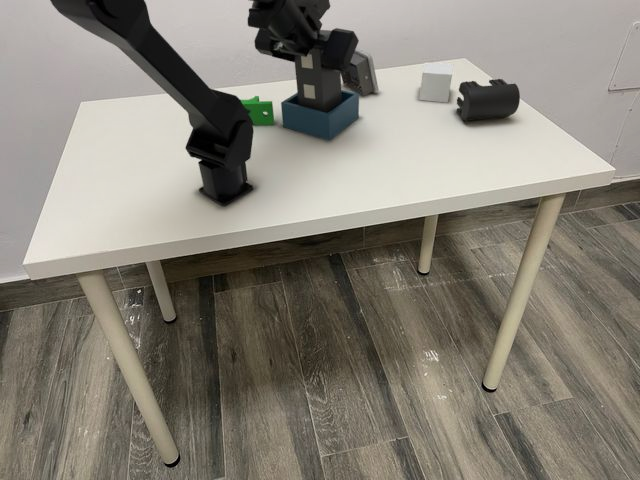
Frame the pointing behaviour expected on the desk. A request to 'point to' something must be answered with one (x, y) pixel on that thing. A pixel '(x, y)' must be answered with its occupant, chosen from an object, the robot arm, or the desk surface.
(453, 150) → the desk surface
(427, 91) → the white cube
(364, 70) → the electrical switch
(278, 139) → the desk surface
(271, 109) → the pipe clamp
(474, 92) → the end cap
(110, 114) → the desk surface
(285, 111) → the compartment
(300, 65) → the tower
